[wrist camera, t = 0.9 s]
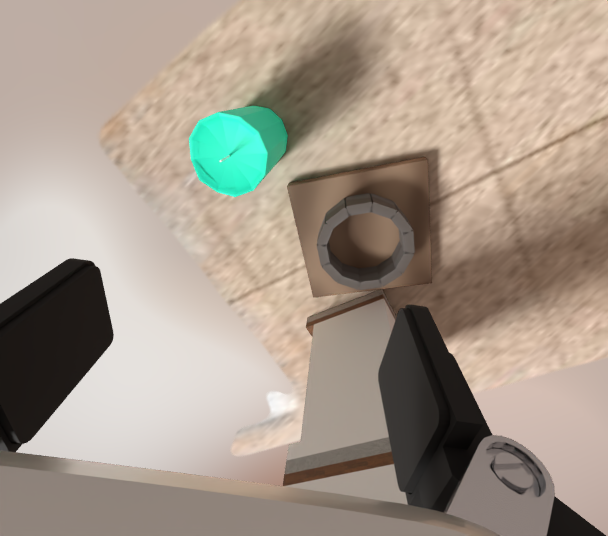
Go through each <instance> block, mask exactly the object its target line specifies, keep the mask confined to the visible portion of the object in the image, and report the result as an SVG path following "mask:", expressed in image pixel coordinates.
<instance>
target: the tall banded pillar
mask: <svg viewBox="0 0 608 536" xmlns="http://www.w3.org/2000/svg"><path fill="white" fill-rule="evenodd" d="M395 320H396V315H395V313H394V311H393V309H392V308H391V306H390V304H389V302H388V300H387V298H386V296H385V294H384V292H383V290H382V289H381V290H378V291H375V292H373V293H370V294H368V295H365V296H362V297H360V298H357V299H355V300H352V301H349V302H347V303H344V304H342V305H339V306H337V307H334V308H331V309H329V310H326V311H324V312H321V313H318V314H316V315H313V316H311V317H308V318H307V324H306V328H307V330H308V331H309V333H310V334H311V336H312V346H311V354H310V363H309V372H308V380H307V389H306V398H305V407H304V415H303V424H302V433H301V441H300V442H297V443H293V444H289V447H288V454H287V461H286V468H285V474H284V481H283V486H284V487H291V488H299V489H306V490H314V491H321V492H329V493H336V494H343V495H349V496H356V497H362V498H369V499H375V500H382V501H389V502H395V503H402V504H406V505H408V503H407V498H406V494H405V492H401V491H400V490H399V487H398V483H397V478H396V472H395V467H394V462H393V456H392V451H391V446H390V440H389V435H388V430H387V424H386V419H385V414H384V408H383V403H382V398H381V393H380V387H379V382H378V372H379V368H380V365H381V362H382V359H383V356H384V353H385V350H386V347H387V344H388V341H389V338H390V335H391V332H392V329H393V326H394V323H395Z"/></svg>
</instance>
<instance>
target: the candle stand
mask: <svg viewBox="0 0 608 536" xmlns="http://www.w3.org/2000/svg"><path fill="white" fill-rule="evenodd" d="M287 189H288V193H289V197H290V201H291V205H292V210H293V214H294V218H295V222H296V226H297V231H298V235H299V239H300V243H301V247H302V252H303V256H304V260H305V264H306V268H307V273H308V277H309V281H310V285H311V289H312V294H313V297H321V296H329V295H337V294H346V293H354V292H362V291H370V290H378V289H387V288H395V287H403V286H411V285H420V284H428V283H432V273H431V242H430V211H429V180H428V159H426V158H425V157H421V158H416V159H411V160H405V161H400V162H395V163H390V164H385V165H380V166H374V167H369V168H364V169H359V170H354V171H348V172H343V173H338V174H333V175H328V176H323V177H317V178H312V179H307V180H302V181H297V182H291V183H289V184H288V186H287Z"/></svg>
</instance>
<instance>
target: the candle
mask: <svg viewBox="0 0 608 536" xmlns="http://www.w3.org/2000/svg"><path fill="white" fill-rule="evenodd" d="M287 138H288V135H287V132H286V129H285V127H284V124H283V121H282V119H281V118H280V117H278V116H277V115H276V114H275V113H274V112H273V111H272V110H271V109H269V108H264V107H259V106H249V107H243V108H238V109H233V110H227V111H222V112H218V113H215V114H213V115H211V116H208V117H206V118H204V119H202V120H199V122H198V123H197V125H196V127H195V129H194V130H193V132H192V134H191V136H190V137H189V144H190V154H191V161H192V163H193V166H194V168H195V171H196V173H197V175H198V178H199V180H200V181H202V182H203V183H204V184H206V185H207V186H209V187H210V188H212V189H213V190H215V191H216V192H219V193H222V194H226V195H230V196H233V197H237V196H239V195H242V194H245V193H247V192H250V191H253V190H254V189H255V188H256V187H257V186H258V184H259V183H260V182H261V181H262V180H263V179H264V177H265V176H266V175H267V174H268V173H269V172H270V171H271V169H272V168H273V167H274V166H275V165H276V164H277V162H278V161H279V160H280V158H281V157H282V156H283V154H284V153H285V152H286V146H287Z"/></svg>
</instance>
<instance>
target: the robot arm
mask: <svg viewBox="0 0 608 536" xmlns="http://www.w3.org/2000/svg"><path fill="white" fill-rule="evenodd" d="M112 340H113V329H112V324H111V319H110V315H109V310H108V305H107V300H106V296H105V291H104V286H103V282H102V277H101V273H100V269H99V268H98V267H96V266H95V264H94V263H93V262H92V261H88V260H80V259H68V260H66V261H64V262H63V263H61V264H60V265H58V266H57V267H55V268H54V269H52V270H51V271H49V272H48V273H46V274H45V275H43V276H42V277H40V278H39V279H37V280H36V281H34V282H33V283H31V284H30V285H28V286H27V287H25V288H24V289H22V290H20V291H19V292H18V293H16V294H15V295H13V296H11V297H10V298H9V299H7V300H5V301H4V302H2V303H1V304H0V536H606V535H604V534H603V533H602V532H601V531H599V530H598V529H597V528H595V527H594V526H593V525H591V524H590V523H589V522H587V521H586V520H585V519H584V518H582V517H581V516H580V515H578V514H577V513H576V512H574V511H573V510H572V509H571V508H569V507H568V506H567V505H565V504H564V503H563V502H561V501H560V500H559V499H558V498H556V497H555V493H554V484H553V481H552V479H551V476H550V474H549V472H548V471H547V469H546V468H545V466H544V465H543V463H542V462H541V461H540V460H539V459H538V458H537V457H536V456H535V455H534V454H533V453H532V452H531V451H529V450H528V449H527V448H526V447H524V446H523V445H521V444H519V443H518V442H516V441H514V440H512V439H509V438H506V437H503V436H494V435H492V433H491V431H490V429H489V427H488V425H487V423H486V421H485V419H484V417H483V415H482V413H481V411H480V409H479V407H478V405H477V402H476V401H475V399H474V396H473V394H472V392H471V390H470V388H469V386H468V384H467V382H466V380H465V378H464V376H463V374H462V372H461V370H460V368H459V366H458V364H457V362H456V360H455V358H454V356H453V355H452V354H451V353H449V352H448V349H447V347H446V345H445V343H444V341H443V339H442V337H441V335H440V333H439V331H438V328H437V326H436V324H435V322H434V320H433V318H432V316H431V314H430V312H429V310H428V308H427V307H423V306H416V305H409V304H408V305H407V306H406V307H405V309H404V308H401V309H400V310H399V312H398V314H397V317H396V320H395V323H394V326H393V329H392V332H391V335H390V338H389V341H388V344H387V347H386V350H385V353H384V356H383V359H382V362H381V365H380V368H379V372H378V382H379V387H380V393H381V398H382V403H383V408H384V414H385V419H386V424H387V430H388V435H389V440H390V446H391V451H392V456H393V462H394V467H395V472H396V478H397V483H398V487H399V490H400V491H401V492H405V494H406V498H407V503H408V505H406V504H402V503H395V502H389V501H382V500H375V499H369V498H362V497H356V496H349V495H343V494H336V493H329V492H321V491H314V490H306V489H299V488H291V487H284V486H276V485H268V484H261V483H254V482H246V481H238V480H231V479H223V478H216V477H208V476H200V475H192V474H185V473H177V472H169V471H161V470H153V469H146V468H137V467H129V466H122V465H114V464H106V463H98V462H90V461H82V460H74V459H65V458H57V457H49V456H41V455H32V454H25V453H24V454H23V453H16V451H17V450H18V448H19V447H20V446H21V445H22V444H24V443H27V442H28V441H30V440H31V439H32V438H33V437H34V436H35V434H36V433H37V432H38V431H39V430H40V428H41V427H42V426H43V425H44V424H45V422H46V421H47V420H48V419H49V418H50V416H51V415H52V414H53V413H54V412H55V410H56V409H57V408H58V407H59V406H60V404H61V403H62V402H63V401H64V400H65V399H66V397H67V396H68V395H69V394H70V393H71V391H72V390H73V389H74V388H75V387H76V385H77V384H78V383H79V381H80V380H81V379H82V378H83V377H84V376H85V375H86V373H87V372H88V371H89V370H90V368H91V367H92V366H93V365H94V364H95V363H96V361H97V360H98V359H99V358H100V357H101V355H102V354H103V353H104V352H105V351H106V349H107V348H108V347H109V346H110V344H111V343H112Z"/></svg>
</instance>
